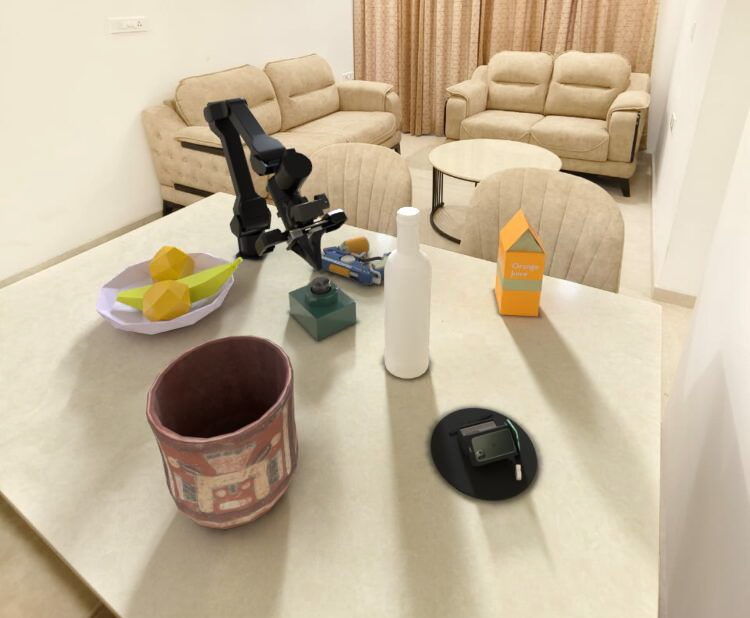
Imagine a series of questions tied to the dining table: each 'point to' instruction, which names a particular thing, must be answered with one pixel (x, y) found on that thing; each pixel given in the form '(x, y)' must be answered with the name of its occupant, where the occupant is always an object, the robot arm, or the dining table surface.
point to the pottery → (226, 429)
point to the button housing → (322, 310)
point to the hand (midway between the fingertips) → (320, 270)
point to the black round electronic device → (483, 454)
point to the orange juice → (519, 268)
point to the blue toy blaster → (354, 261)
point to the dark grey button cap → (320, 285)
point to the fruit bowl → (166, 291)
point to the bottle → (407, 300)
